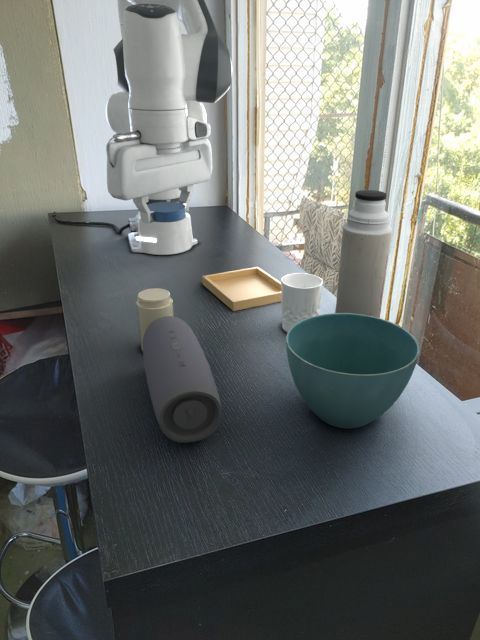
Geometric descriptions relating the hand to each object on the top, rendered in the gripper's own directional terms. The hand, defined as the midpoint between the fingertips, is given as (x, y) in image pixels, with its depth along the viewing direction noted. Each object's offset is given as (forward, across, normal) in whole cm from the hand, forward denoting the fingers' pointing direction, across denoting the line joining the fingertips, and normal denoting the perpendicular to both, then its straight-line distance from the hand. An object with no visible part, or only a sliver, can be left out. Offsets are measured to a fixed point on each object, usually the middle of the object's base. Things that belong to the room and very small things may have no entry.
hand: (166, 217), depth 88 cm
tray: (+23, +26, +3) cm, 34 cm away
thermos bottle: (+23, +17, -29) cm, 41 cm away
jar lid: (-1, 0, 0) cm, 1 cm away
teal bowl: (+23, -2, -37) cm, 44 cm away
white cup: (+23, +18, -17) cm, 33 cm away
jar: (+22, -5, -1) cm, 23 cm away
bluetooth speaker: (+22, -15, -17) cm, 32 cm away
